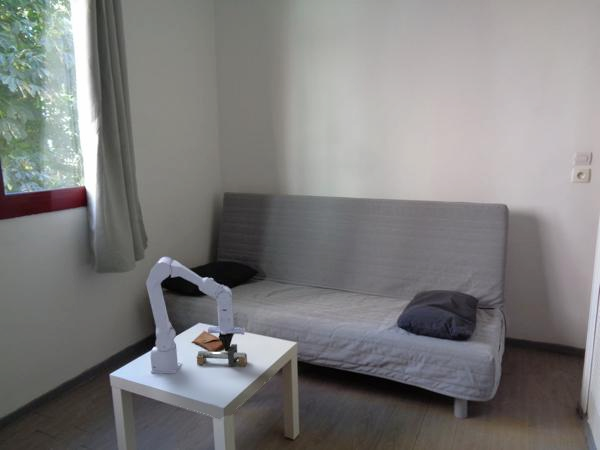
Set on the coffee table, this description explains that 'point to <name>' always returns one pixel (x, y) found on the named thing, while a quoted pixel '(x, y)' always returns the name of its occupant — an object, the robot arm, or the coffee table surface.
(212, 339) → the sunglasses case
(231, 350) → the ring
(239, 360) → the pipe
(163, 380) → the coffee table surface
